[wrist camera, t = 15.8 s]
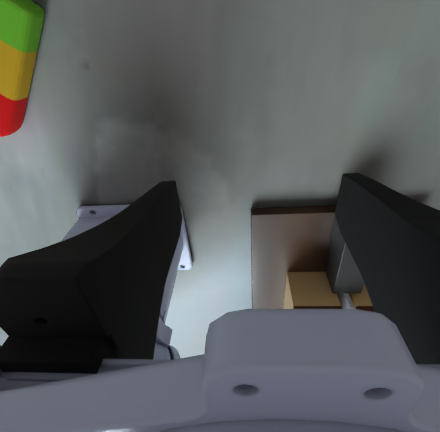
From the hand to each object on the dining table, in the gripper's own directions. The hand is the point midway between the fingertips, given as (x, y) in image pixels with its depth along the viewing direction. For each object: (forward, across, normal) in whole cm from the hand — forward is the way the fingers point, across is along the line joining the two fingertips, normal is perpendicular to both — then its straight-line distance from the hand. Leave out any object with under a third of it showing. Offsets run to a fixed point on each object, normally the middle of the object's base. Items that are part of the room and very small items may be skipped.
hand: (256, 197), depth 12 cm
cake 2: (+8, -5, +19) cm, 21 cm away
